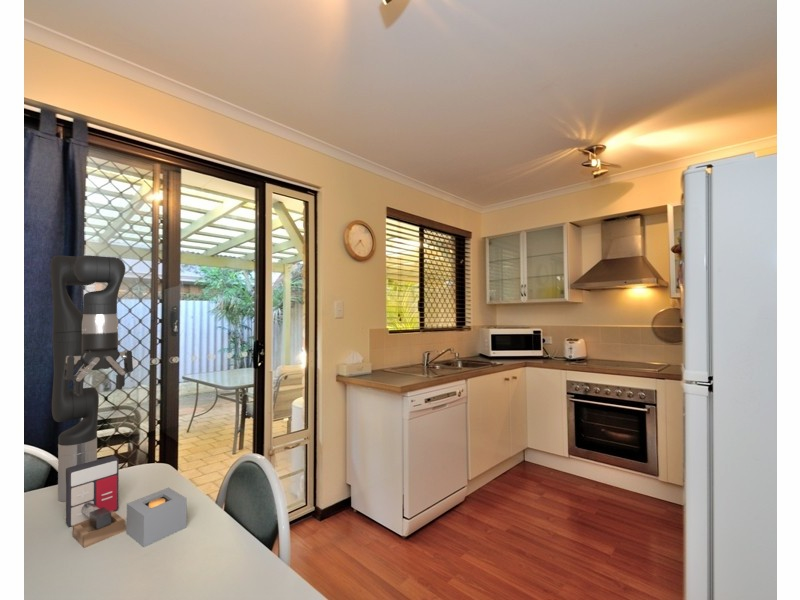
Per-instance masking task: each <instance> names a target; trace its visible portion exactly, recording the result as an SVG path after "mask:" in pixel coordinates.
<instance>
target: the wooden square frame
mask: <svg viewBox="0 0 800 600" xmlns="http://www.w3.org/2000/svg"><path fill="white" fill-rule="evenodd" d="M110 512H111V525H108V526H106V527H103V528H101V529H99V530H96V529H95V528H93V527H92V526H91V525H90V519H88V520H85V521H83V522H80V523H78V524H75V525H73V526H72V537H73V539H75V541H76V542H77V543H78V544H79V545H80V546H81V547H82V548H83V549H85V548H88V547H91V546H93V545H95V544H98V543H100V542H103V541H105V540H108V539H110V538H112V537H115V536H117V535H118V534H122V533H124V532H126V528H125V527H126V520H125V519H124V518H123V517H121V516H120V515H119V514H118V513H116V511H113V510H111V511H110Z"/></svg>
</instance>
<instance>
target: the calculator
mask: <svg viewBox="0 0 800 600" xmlns="http://www.w3.org/2000/svg"><path fill="white" fill-rule="evenodd" d="M119 463H120V462H119V458H118V457H117V456H116V455H109V456H107V457H102V458H100V459H97V460H95V461H91V462H87V463H83V464H80V465H76V466H72V467H68V468H67V469H66V502H65V523H66V526H67V527H68V528H73V525H75V524H78V523H80V522H83V521H85V520H88V519H90V518H89V517H87V516H86V515H85V514H84V513H83V512H82V510H81V509H82V507H83V506H84V505H85V504H86V503H93V504H94V505H95V506H97V507H98V508H99V509H100V508H102V507H104V508H106V509H107V510H108V511H111V510H113V511H114V512H117V511H118V510H119V477H120V476H119V472H120V471H119V467H120V466H119Z"/></svg>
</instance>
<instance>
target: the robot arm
mask: <svg viewBox="0 0 800 600" xmlns="http://www.w3.org/2000/svg"><path fill="white" fill-rule="evenodd" d="M125 274H126V265H125V262H123V260H122V259H121V258H119V257H117V256H116V257H115V256H104V255H103V256H101V255H89V254H87V255H84V254H83V255H80V256H72V255H71V256H70V255H54V256H53V257H52V259H51V261H50V281H51V292H52V306H53V307H52V309H53V311H52V354H53V381H52V383H53V384H52V396H51V397H52V398H51V413H52V414H51V415H52V418H53V420H54V421H55V422H57V423H62V422H68V421H73V420H79V419H81V421H79V422H78V423H77V424H76V425H74V426H72V427H70V428H68V429H66V430H64V431H62V432H61V433H60V434H59V435H58V437H57V439H58V441H57V448H58V449H57V450H58V451H57V455H58V457H57V460H58V461H57V463H58V465H57V471H58V473H57V478H58V479H57V500H58V502H60V503H66V469H67V468H68V467H72V466H76V465H80V464H83V463H87V462H91V461H95V460H98V416H99V402H100V401H99V400H100V399H99V392H98V389H96V388H95V387H94V386H93V387H92V386H91V387H84V381H83V379H85V377H86V376H87V374H89V373H90V372H91V371H98V370H99V371H100V370H109V369H111V370H113V372H115V373H116V375H115V379H116V380H115V388H116V390H122V389H123V388H124V387H125V382H126V379H125V378H126V374H128V373H131V372H133V371H134V365H133V364H134V363H133V351H131V350H128V349H125V350H124V351H119V319H118V295H119V292H120V288H121V284H122V282H123V279H124V277H125ZM95 283H102V284H103V283H104V284H105V283H107V285H106V287H104V288H103V289H102V290H94V291H88V292H85V293H84V294H83V297H82V299H83V300H82V307H83V308H82V312H81V310H79V309H78V307H77V306H76V304H75V303H74V302H73V301H72V299H71V297H70V295H69V294H68V290H67V286H91V285H94V284H95ZM120 357H121V359H123V365H124V368H122V367H121V365H120V364H119V363H118V362H117V360H118V359H119V358H120ZM81 363H82V366H80V367H79V369H78V370H77V372H76V374H74V372H75V371H76V369H77V368H78V366H79V365H80V364H81ZM70 381H73V389H68V388H69V387H68V386H69V383H70Z"/></svg>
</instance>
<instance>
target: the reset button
mask: <svg viewBox="0 0 800 600" xmlns="http://www.w3.org/2000/svg"><path fill="white" fill-rule="evenodd" d="M162 503H165V499H164V498H159V499H155V500H152V501H151V502H150V503H149V508H153V507H155V506H157V505H160V504H162Z"/></svg>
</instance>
